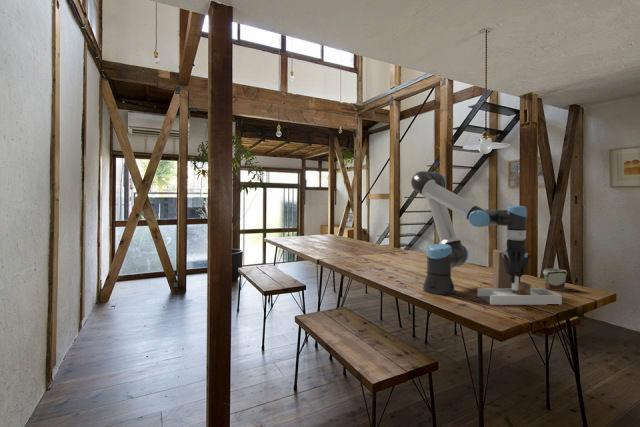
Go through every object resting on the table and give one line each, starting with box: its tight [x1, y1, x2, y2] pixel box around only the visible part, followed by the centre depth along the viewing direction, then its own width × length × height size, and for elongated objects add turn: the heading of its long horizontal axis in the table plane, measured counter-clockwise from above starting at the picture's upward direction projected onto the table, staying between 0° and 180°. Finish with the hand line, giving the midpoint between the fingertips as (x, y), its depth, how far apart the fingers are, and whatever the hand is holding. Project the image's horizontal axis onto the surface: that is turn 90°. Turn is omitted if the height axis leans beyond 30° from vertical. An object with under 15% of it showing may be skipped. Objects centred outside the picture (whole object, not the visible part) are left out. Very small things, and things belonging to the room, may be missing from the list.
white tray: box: [476, 287, 563, 306], centre depth 148 cm, size 32×12×4 cm, turn 91°
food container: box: [542, 268, 568, 291], centre depth 169 cm, size 12×6×10 cm, turn 100°
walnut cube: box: [513, 281, 532, 295], centre depth 148 cm, size 5×5×5 cm
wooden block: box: [491, 249, 512, 288], centre depth 166 cm, size 10×10×20 cm
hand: (514, 289), depth 148 cm, fingers closed
